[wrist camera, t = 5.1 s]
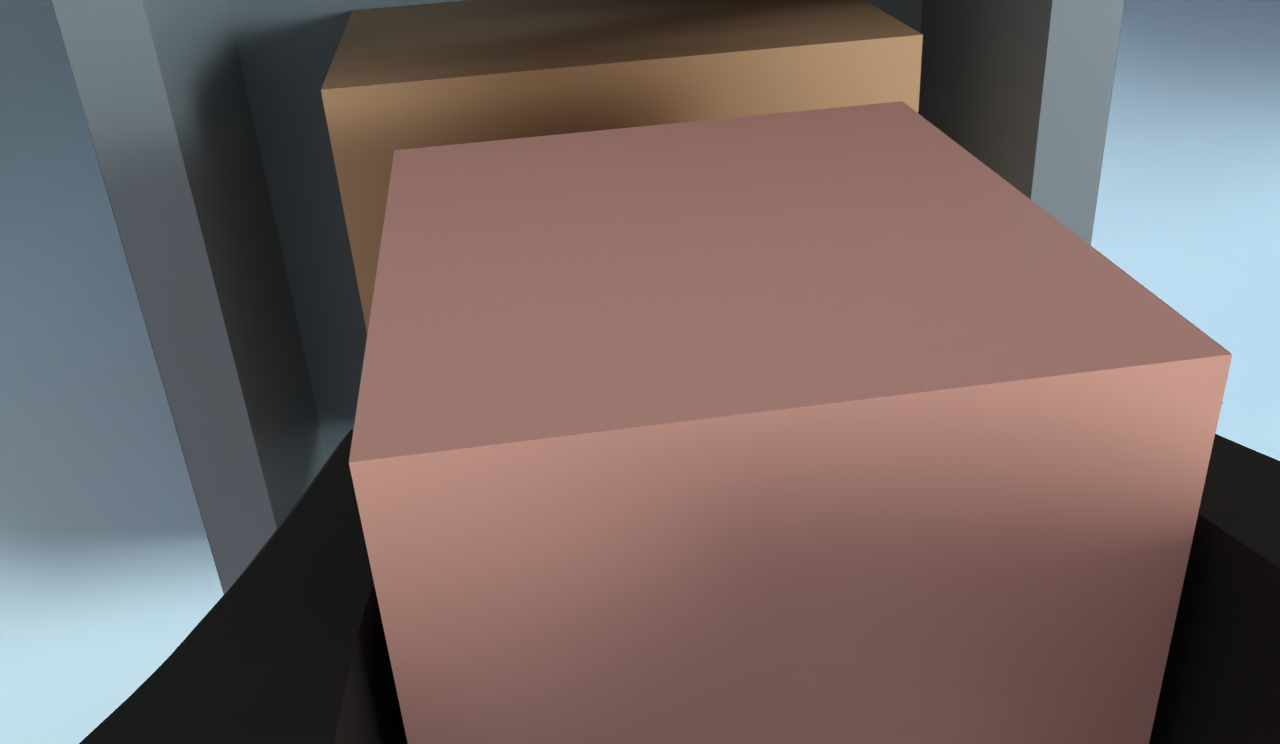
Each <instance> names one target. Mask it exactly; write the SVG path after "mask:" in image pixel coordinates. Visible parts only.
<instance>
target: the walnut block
mask: <svg viewBox="0 0 1280 744" xmlns="http://www.w3.org/2000/svg"><path fill="white" fill-rule="evenodd" d="M922 42H923V34H921V33H919V32H918V31H916V30H914V29H913V28H911V27H909V26H907V25H906V24H904V23H902V22H901V21H899V20H897V19H896V18H894V17H892V16H891V15H889V14H887V13H885V12H884V11H882V10H880V9H879V8H877V7H875V6H874V5H872V4H870V3H868V2H867V1H865V0H467V1H455V2H443V3H432V4H420V5H408V6H396V7H385V8H373V9H361V10H352V13H351V15H350V18H349V20H348V23H347V25H346V28H345V30H344V33H343V35H342V38H341V40H340V43H339V45H338V48H337V50H336V53H335V55H334V58H333V60H332V63H331V65H330V68H329V71H328V73H327V76H326V78H325V81H324V83H323V86H322V88H321V93H322V99H323V104H324V109H325V115H326V120H327V125H328V130H329V136H330V141H331V146H332V151H333V157H334V162H335V167H336V173H337V178H338V183H339V188H340V194H341V199H342V204H343V210H344V215H345V220H346V225H347V231H348V236H349V241H350V246H351V252H352V257H353V262H354V268H355V273H356V278H357V283H358V289H359V294H360V299H361V305H362V310H363V315H364V320H365V326H366V331H367V334H368V327H369V320H370V314H371V307H372V300H373V293H374V286H375V279H376V272H377V266H378V259H379V252H380V245H381V238H382V231H383V225H384V218H385V211H386V204H387V197H388V190H389V183H390V177H391V170H392V163H393V156H394V150H403V149H413V148H423V147H434V146H444V145H454V144H465V143H475V142H485V141H496V140H506V139H516V138H527V137H537V136H548V135H558V134H568V133H579V132H589V131H599V130H610V129H620V128H630V127H641V126H651V125H661V124H672V123H682V122H692V121H703V120H713V119H723V118H734V117H744V116H754V115H765V114H775V113H785V112H796V111H806V110H816V109H827V108H837V107H848V106H858V105H868V104H879V103H889V102H899V101H903V102H904V103H905V104H907V105H908V106H909V107H911V108H912V109H913V110H914V111H916V112H917V113H918V110H919V93H920V76H921V59H922Z"/></svg>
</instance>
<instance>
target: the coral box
mask: <svg viewBox="0 0 1280 744" xmlns="http://www.w3.org/2000/svg"><path fill="white" fill-rule="evenodd" d="M1231 357H1232V354H1231V353H1230V352H1229V351H1227V350H1226V349H1225V348H1223V347H1222V346H1221V345H1219V344H1218V343H1217V342H1216V341H1214V340H1213V339H1212V338H1210V337H1209V336H1208V335H1206V334H1205V333H1204V332H1202V331H1201V330H1200V329H1199V328H1197V327H1196V326H1195V325H1193V324H1192V323H1191V322H1189V321H1188V320H1187V319H1186V318H1184V317H1183V316H1182V315H1180V314H1179V313H1178V312H1176V311H1175V310H1174V309H1173V308H1171V307H1170V306H1169V305H1167V304H1166V303H1165V302H1163V301H1162V300H1161V299H1159V298H1158V297H1157V296H1156V295H1154V294H1153V293H1152V292H1150V291H1149V290H1148V289H1146V288H1145V287H1144V286H1143V285H1141V284H1140V283H1139V282H1137V281H1136V280H1135V279H1133V278H1132V277H1131V276H1130V275H1128V274H1127V273H1126V272H1124V271H1123V270H1122V269H1120V268H1119V267H1118V266H1116V265H1115V264H1114V263H1113V262H1111V261H1110V260H1109V259H1107V258H1106V257H1105V256H1103V255H1102V254H1101V253H1100V252H1098V251H1097V250H1096V249H1094V248H1093V247H1092V246H1090V245H1089V244H1088V243H1086V242H1085V241H1084V240H1083V239H1081V238H1080V237H1079V236H1077V235H1076V234H1075V233H1073V232H1072V231H1071V230H1070V229H1068V228H1067V227H1066V226H1064V225H1063V224H1062V223H1060V222H1059V221H1058V220H1057V219H1055V218H1054V217H1053V216H1051V215H1050V214H1049V213H1047V212H1046V211H1045V210H1043V209H1042V208H1041V207H1040V206H1038V205H1037V204H1036V203H1034V202H1033V201H1032V200H1030V199H1029V198H1028V197H1027V196H1025V195H1024V194H1023V193H1021V192H1020V191H1019V190H1017V189H1016V188H1015V187H1014V186H1012V185H1011V184H1010V183H1008V182H1007V181H1006V180H1004V179H1003V178H1002V177H1000V176H999V175H998V174H997V173H995V172H994V171H993V170H991V169H990V168H989V167H987V166H986V165H985V164H984V163H982V162H981V161H980V160H978V159H977V158H976V157H974V156H973V155H972V154H970V153H969V152H968V151H967V150H965V149H964V148H963V147H961V146H960V145H959V144H957V143H956V142H955V141H954V140H952V139H951V138H950V137H948V136H947V135H946V134H944V133H943V132H942V131H941V130H939V129H938V128H937V127H935V126H934V125H933V124H931V123H930V122H929V121H927V120H926V119H925V118H924V117H922V116H921V115H920V114H918V113H917V112H916V111H914V110H913V109H912V108H911V107H909V106H908V105H907V104H905V103H904V102H903V101H899V102H889V103H879V104H868V105H858V106H848V107H837V108H827V109H816V110H806V111H796V112H785V113H775V114H765V115H754V116H744V117H734V118H723V119H713V120H703V121H692V122H682V123H672V124H661V125H651V126H641V127H630V128H620V129H610V130H599V131H589V132H579V133H568V134H558V135H548V136H537V137H527V138H516V139H506V140H496V141H485V142H475V143H465V144H454V145H444V146H434V147H423V148H413V149H403V150H394V156H393V163H392V170H391V177H390V183H389V190H388V197H387V204H386V211H385V218H384V225H383V231H382V238H381V245H380V252H379V259H378V266H377V272H376V279H375V286H374V293H373V300H372V307H371V314H370V320H369V327H368V334H367V341H366V348H365V355H364V361H363V368H362V375H361V382H360V389H359V396H358V403H357V409H356V416H355V423H354V430H353V437H352V444H351V450H350V457H349V466H350V471H351V476H352V481H353V485H354V490H355V495H356V500H357V504H358V509H359V514H360V519H361V523H362V528H363V533H364V538H365V543H366V547H367V552H368V557H369V562H370V566H371V571H372V576H373V581H374V586H375V590H376V595H377V600H378V605H379V609H380V614H381V619H382V624H383V628H384V633H385V638H386V643H387V648H388V652H389V657H390V662H391V667H392V671H393V676H394V681H395V686H396V690H397V695H398V700H399V705H400V710H401V714H402V719H403V724H404V729H405V733H406V738H407V743H408V744H1149V742H1150V737H1151V732H1152V728H1153V723H1154V718H1155V713H1156V709H1157V704H1158V699H1159V695H1160V690H1161V685H1162V681H1163V676H1164V671H1165V667H1166V662H1167V657H1168V653H1169V648H1170V643H1171V638H1172V634H1173V629H1174V624H1175V620H1176V615H1177V610H1178V606H1179V601H1180V596H1181V592H1182V587H1183V582H1184V578H1185V573H1186V568H1187V563H1188V559H1189V554H1190V549H1191V545H1192V540H1193V535H1194V531H1195V526H1196V521H1197V517H1198V512H1199V507H1200V503H1201V498H1202V493H1203V488H1204V484H1205V479H1206V474H1207V470H1208V465H1209V460H1210V456H1211V451H1212V446H1213V442H1214V437H1215V432H1216V428H1217V423H1218V418H1219V413H1220V409H1221V404H1222V399H1223V395H1224V390H1225V385H1226V381H1227V376H1228V371H1229V367H1230V362H1231Z"/></svg>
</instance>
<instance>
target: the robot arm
mask: <svg viewBox="0 0 1280 744" xmlns="http://www.w3.org/2000/svg"><path fill="white" fill-rule="evenodd" d="M353 430H354V429H351V430H350V431H349V433H348V434H347V435H346V436H345V437H344V439H343V440H342V441H341V442H340V443H339V445H338V446H337V447H336V449H335V450H334V451H333V453H332V454H331V456H330V457H329V458H328V460H327V461H326V463H325V464H324V465H323V467H322V468H321V470H320V471H319V472H318V474H317V475H316V477H315V478H314V479H313V481H312V482H311V484H310V485H309V486H308V488H307V489H306V491H305V492H304V493H303V495H302V496H301V497H300V499H299V500H298V501H297V503H296V504H295V506H294V507H293V508H292V510H291V511H290V512H289V514H288V515H287V516H286V518H285V519H284V520H283V522H282V523H281V524H280V526H279V527H278V528H277V529H276V531H275V532H274V533H273V535H272V536H271V537H270V538H269V540H268V541H267V542H266V543H265V545H264V546H263V547H262V549H261V550H260V551H259V552H258V554H257V555H256V556H255V557H254V559H253V560H252V561H251V563H250V564H249V565H248V566H247V568H246V569H245V570H244V571H243V573H242V574H241V575H240V577H239V578H238V579H237V580H236V581H235V583H234V584H233V585H232V586H231V587H230V589H229V590H228V591H227V592H226V593H225V594H224V596H223V597H222V598H221V599H220V600H219V601H218V602H217V604H216V605H215V606H214V607H213V608H212V609H211V610H210V611H209V613H208V614H207V615H206V616H205V617H204V618H203V619H202V620H201V622H200V623H199V624H198V625H197V626H196V627H195V628H194V630H193V631H192V632H191V633H190V634H189V635H188V636H187V637H186V639H185V640H184V641H183V642H182V643H181V644H180V645H179V646H178V648H177V649H176V650H175V651H174V652H173V653H172V654H171V655H170V657H169V658H168V659H167V660H166V661H165V662H164V663H163V664H162V665H161V666H160V667H159V668H158V669H157V670H156V671H155V672H154V673H153V674H152V675H151V676H150V677H149V678H148V679H147V680H146V681H145V682H144V683H143V684H142V685H141V686H140V687H139V688H138V689H137V690H136V691H135V692H134V693H133V694H132V695H131V696H130V697H129V698H128V699H127V700H126V701H125V702H124V703H122V704H121V705H120V706H119V707H118V708H117V709H116V710H115V711H114V712H113V713H112V714H111V715H110V716H108V717H107V718H106V719H105V720H104V721H103V722H102V723H101V724H100V725H99V726H98V727H97V728H96V729H94V730H93V731H92V732H91V733H90V734H89V735H88V736H87V737H86V738H85V739H84V740H83V741H82V742H80V743H79V744H408V743H407V738H406V733H405V729H404V724H403V719H402V714H401V710H400V705H399V700H398V695H397V690H396V686H395V681H394V676H393V671H392V667H391V662H390V657H389V652H388V648H387V643H386V638H385V633H384V628H383V624H382V619H381V614H380V609H379V605H378V600H377V595H376V590H375V586H374V581H373V576H372V571H371V566H370V562H369V557H368V552H367V547H366V543H365V538H364V533H363V528H362V523H361V519H360V514H359V509H358V504H357V500H356V495H355V490H354V485H353V481H352V476H351V471H350V466H349V457H350V450H351V444H352V437H353ZM1149 744H1280V461H1278V460H1276V459H1273V458H1271V457H1268V456H1266V455H1264V454H1261V453H1259V452H1256V451H1254V450H1252V449H1249V448H1247V447H1244V446H1242V445H1240V444H1237V443H1235V442H1233V441H1231V440H1228V439H1226V438H1224V437H1221V436H1219V435H1217V434H1215V437H1214V442H1213V446H1212V451H1211V456H1210V460H1209V465H1208V470H1207V474H1206V479H1205V484H1204V488H1203V493H1202V498H1201V503H1200V507H1199V512H1198V517H1197V521H1196V526H1195V531H1194V535H1193V540H1192V545H1191V549H1190V554H1189V559H1188V563H1187V568H1186V573H1185V578H1184V582H1183V587H1182V592H1181V596H1180V601H1179V606H1178V610H1177V615H1176V620H1175V624H1174V629H1173V634H1172V638H1171V643H1170V648H1169V653H1168V657H1167V662H1166V667H1165V671H1164V676H1163V681H1162V685H1161V690H1160V695H1159V699H1158V704H1157V709H1156V713H1155V718H1154V723H1153V728H1152V732H1151V737H1150V742H1149Z"/></svg>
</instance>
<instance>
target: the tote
mask: <svg viewBox="0 0 1280 744" xmlns="http://www.w3.org/2000/svg"><path fill="white" fill-rule="evenodd" d="M455 1H467V0H52V4H53V7H54V10H55V14H56V17H57V21H58V24H59V28H60V31H61V35H62V38H63V41H64V45H65V48H66V52H67V55H68V59H69V62H70V66H71V69H72V72H73V76H74V79H75V83H76V86H77V90H78V93H79V97H80V100H81V103H82V107H83V110H84V114H85V117H86V121H87V124H88V128H89V131H90V134H91V138H92V141H93V145H94V148H95V152H96V155H97V159H98V162H99V165H100V169H101V172H102V176H103V179H104V183H105V186H106V190H107V193H108V196H109V200H110V203H111V207H112V210H113V214H114V217H115V221H116V224H117V227H118V231H119V234H120V238H121V241H122V245H123V248H124V252H125V255H126V258H127V262H128V265H129V269H130V272H131V276H132V279H133V283H134V286H135V289H136V293H137V296H138V300H139V303H140V307H141V310H142V314H143V317H144V320H145V324H146V327H147V331H148V334H149V338H150V341H151V345H152V348H153V351H154V355H155V358H156V362H157V365H158V369H159V372H160V376H161V379H162V382H163V386H164V389H165V393H166V396H167V400H168V403H169V407H170V410H171V413H172V417H173V420H174V424H175V427H176V431H177V434H178V438H179V441H180V444H181V448H182V451H183V455H184V458H185V462H186V465H187V469H188V472H189V475H190V479H191V482H192V486H193V489H194V493H195V496H196V500H197V503H198V506H199V510H200V513H201V517H202V520H203V524H204V527H205V531H206V534H207V537H208V541H209V544H210V548H211V551H212V555H213V558H214V562H215V565H216V568H217V572H218V575H219V579H220V582H221V586H222V589H223V593H224V594H225V593H226V592H227V591H228V590H229V589H230V587H231V586H232V585H233V584H234V583H235V581H236V580H237V579H238V578H239V577H240V575H241V574H242V573H243V571H244V570H245V569H246V568H247V566H248V565H249V564H250V563H251V561H252V560H253V559H254V557H255V556H256V555H257V554H258V552H259V551H260V550H261V549H262V547H263V546H264V545H265V543H266V542H267V541H268V540H269V538H270V537H271V536H272V535H273V533H274V532H275V531H276V529H277V528H278V527H279V526H280V524H281V523H282V522H283V520H284V519H285V518H286V516H287V515H288V514H289V512H290V511H291V510H292V508H293V507H294V506H295V504H296V503H297V501H298V500H299V499H300V497H301V496H302V495H303V493H304V492H305V491H306V489H307V488H308V486H309V485H310V484H311V482H312V481H313V479H314V478H315V477H316V475H317V474H318V472H319V471H320V470H321V468H322V467H323V465H324V464H325V463H326V461H327V460H328V458H329V457H330V456H331V454H332V453H333V451H334V450H335V449H336V447H337V446H338V445H339V443H340V442H341V441H342V440H343V439H344V437H345V436H346V435H347V434H348V433H349V431H350V430H351V429H354V423H355V416H356V409H357V403H358V396H359V389H360V382H361V375H362V368H363V361H364V355H365V348H366V341H367V331H366V326H365V320H364V315H363V310H362V305H361V299H360V294H359V289H358V283H357V278H356V273H355V268H354V262H353V257H352V252H351V246H350V241H349V236H348V231H347V225H346V220H345V215H344V210H343V204H342V199H341V194H340V188H339V183H338V178H337V173H336V167H335V162H334V157H333V151H332V146H331V141H330V136H329V130H328V125H327V120H326V115H325V109H324V104H323V99H322V93H321V88H322V86H323V83H324V81H325V78H326V76H327V73H328V71H329V68H330V65H331V63H332V60H333V58H334V55H335V53H336V50H337V48H338V45H339V43H340V40H341V38H342V35H343V33H344V30H345V28H346V25H347V23H348V20H349V18H350V15H351V13H352V10H361V9H373V8H385V7H396V6H408V5H420V4H432V3H443V2H455ZM865 1H867V2H868V3H870V4H872V5H874V6H875V7H877V8H879V9H880V10H882V11H884V12H885V13H887V14H889V15H891V16H892V17H894V18H896V19H897V20H899V21H901V22H902V23H904V24H906V25H907V26H909V27H911V28H913V29H914V30H916V31H918V32H919V33H921V34H923V42H922V59H921V76H920V93H919V110H918V114H920V115H921V116H922V117H924V118H925V119H926V120H927V121H929V122H930V123H931V124H933V125H934V126H935V127H937V128H938V129H939V130H941V131H942V132H943V133H944V134H946V135H947V136H948V137H950V138H951V139H952V140H954V141H955V142H956V143H957V144H959V145H960V146H961V147H963V148H964V149H965V150H967V151H968V152H969V153H970V154H972V155H973V156H974V157H976V158H977V159H978V160H980V161H981V162H982V163H984V164H985V165H986V166H987V167H989V168H990V169H991V170H993V171H994V172H995V173H997V174H998V175H999V176H1000V177H1002V178H1003V179H1004V180H1006V181H1007V182H1008V183H1010V184H1011V185H1012V186H1014V187H1015V188H1016V189H1017V190H1019V191H1020V192H1021V193H1023V194H1024V195H1025V196H1027V197H1028V198H1029V199H1030V200H1032V201H1033V202H1034V203H1036V204H1037V205H1038V206H1040V207H1041V208H1042V209H1043V210H1045V211H1046V212H1047V213H1049V214H1050V215H1051V216H1053V217H1054V218H1055V219H1057V220H1058V221H1059V222H1060V223H1062V224H1063V225H1064V226H1066V227H1067V228H1068V229H1070V230H1071V231H1072V232H1073V233H1075V234H1076V235H1077V236H1079V237H1080V238H1081V239H1083V240H1084V241H1085V242H1086V243H1088V244H1089V245H1090V246H1091V239H1092V232H1093V224H1094V217H1095V210H1096V203H1097V195H1098V188H1099V181H1100V174H1101V167H1102V159H1103V152H1104V145H1105V138H1106V131H1107V123H1108V116H1109V109H1110V102H1111V94H1112V87H1113V80H1114V73H1115V66H1116V58H1117V51H1118V44H1119V37H1120V30H1121V22H1122V15H1123V8H1124V1H1125V0H865Z"/></svg>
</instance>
